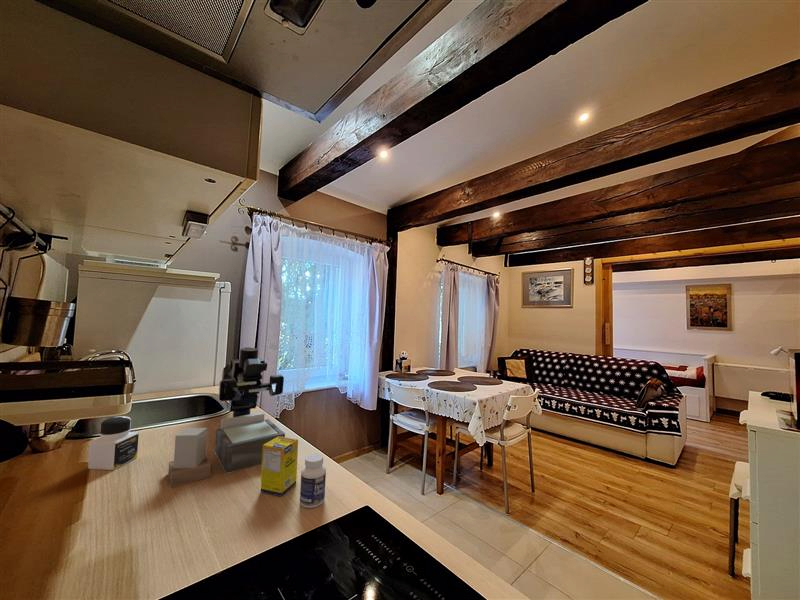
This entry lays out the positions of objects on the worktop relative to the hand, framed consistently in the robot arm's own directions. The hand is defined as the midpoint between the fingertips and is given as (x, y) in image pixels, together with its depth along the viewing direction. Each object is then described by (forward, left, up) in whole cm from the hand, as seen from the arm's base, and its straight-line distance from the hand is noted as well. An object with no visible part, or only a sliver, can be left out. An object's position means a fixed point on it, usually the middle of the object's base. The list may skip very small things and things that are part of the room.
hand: (258, 395), depth 94 cm
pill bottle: (+33, +3, -17) cm, 37 cm away
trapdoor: (-1, -2, -11) cm, 11 cm away
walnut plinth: (+4, -17, -17) cm, 24 cm away
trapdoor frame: (+1, -2, -17) cm, 17 cm away
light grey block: (+4, -17, -14) cm, 22 cm away
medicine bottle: (-15, -32, -17) cm, 39 cm away
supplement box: (+23, -1, -17) cm, 28 cm away
